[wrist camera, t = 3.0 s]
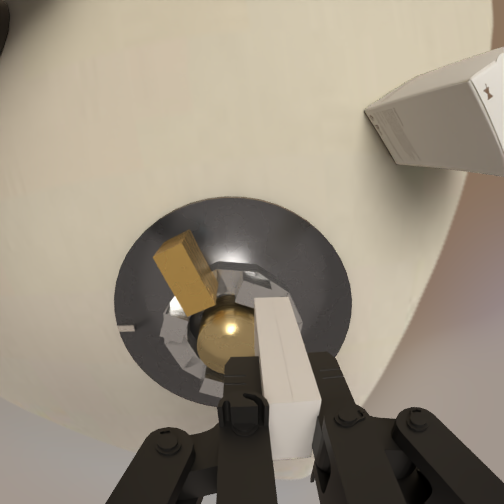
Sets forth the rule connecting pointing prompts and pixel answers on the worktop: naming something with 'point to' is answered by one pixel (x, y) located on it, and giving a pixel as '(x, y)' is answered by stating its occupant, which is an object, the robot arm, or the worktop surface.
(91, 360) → the worktop surface
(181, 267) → the ring nut
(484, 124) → the skincare box
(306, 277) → the bowl
